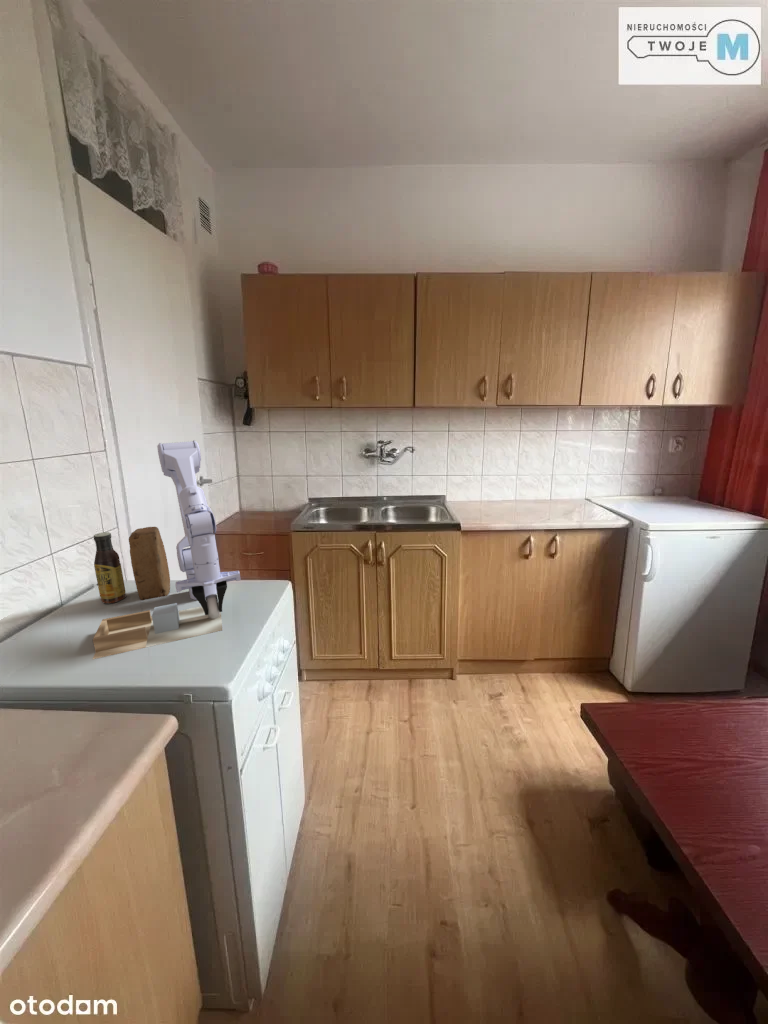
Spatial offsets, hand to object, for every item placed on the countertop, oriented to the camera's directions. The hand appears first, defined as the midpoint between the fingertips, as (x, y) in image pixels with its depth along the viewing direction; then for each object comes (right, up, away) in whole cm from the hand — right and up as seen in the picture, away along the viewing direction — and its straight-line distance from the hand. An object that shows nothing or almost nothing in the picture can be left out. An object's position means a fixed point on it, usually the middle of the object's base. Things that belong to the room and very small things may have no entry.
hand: (213, 611), depth 105 cm
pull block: (-5, -2, -2) cm, 6 cm away
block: (-24, 0, +19) cm, 30 cm away
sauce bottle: (-35, -1, +16) cm, 39 cm away
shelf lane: (-10, -4, -3) cm, 12 cm away
